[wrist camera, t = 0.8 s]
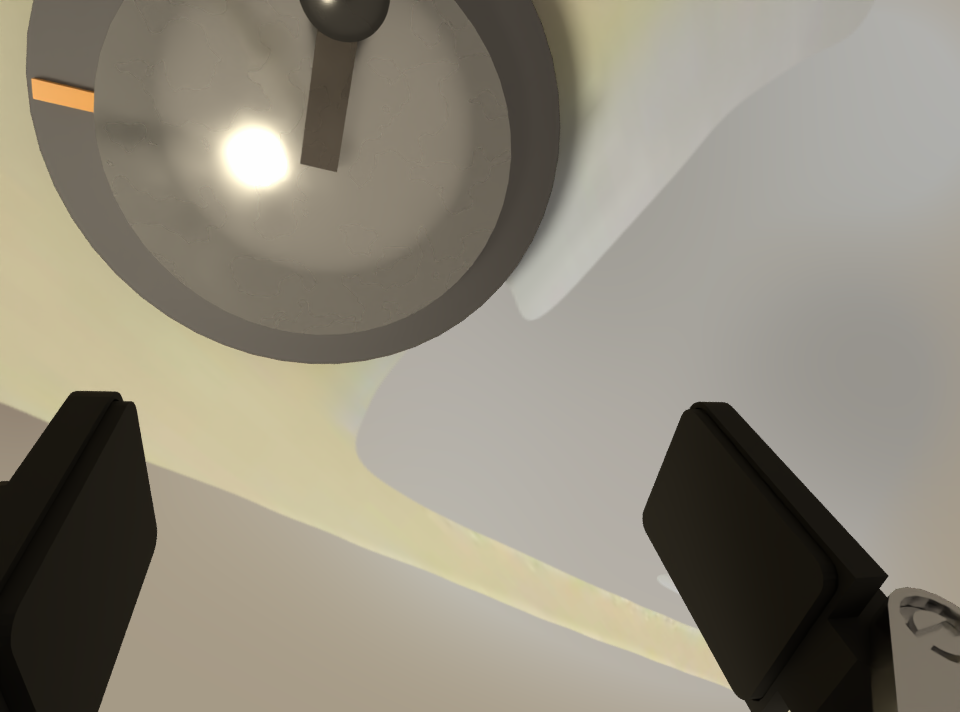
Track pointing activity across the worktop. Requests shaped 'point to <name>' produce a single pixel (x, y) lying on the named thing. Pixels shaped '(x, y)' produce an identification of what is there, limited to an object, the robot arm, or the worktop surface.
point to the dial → (305, 152)
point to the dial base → (91, 204)
